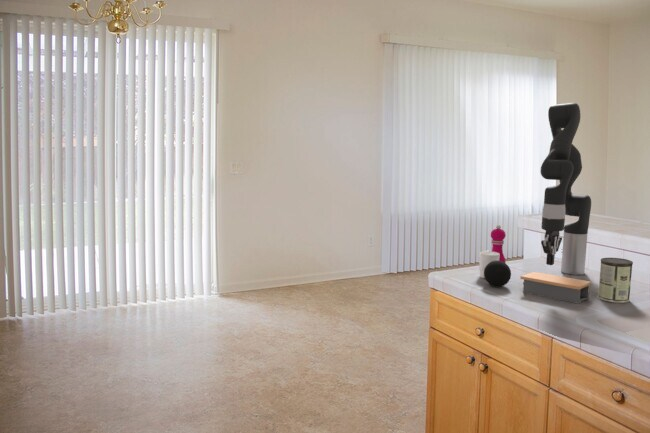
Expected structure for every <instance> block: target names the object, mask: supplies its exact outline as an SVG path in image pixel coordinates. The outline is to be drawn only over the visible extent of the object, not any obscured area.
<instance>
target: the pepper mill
mask: <svg viewBox="0 0 650 433" xmlns="http://www.w3.org/2000/svg"><path fill="white" fill-rule="evenodd" d="M506 236H507V235H506V231H505V230H503V229H502V226H501V225H499V224H497V225H496V228H495V229H492V231H490V237H491V244H492V249H491V251H492V252H497V253H499V254H500V256H499V261H502V262H504V263H506V257H505V255H504V253H503V245H504V244H505V243H504V242H505V241H504V240H505V238H506Z"/></svg>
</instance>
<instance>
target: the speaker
mask: <svg viewBox="0 0 650 433" xmlns="http://www.w3.org/2000/svg"><path fill="white" fill-rule="evenodd" d="M511 272H512V271H511V268H510V266H509V265H508V264H507V263H506V262H505V263H504V262H502V261H492V262H490V263H489V264H487V266H486V267H485V269H484V277H485V278H484V280H485V281H486V282H487V284H488V285H490V286H491V287H495V288H496V287H497V288H500V287H503V286H506V285H507V284H508V283H509V282H510V280H511V276H512V273H511Z"/></svg>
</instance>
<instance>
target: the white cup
mask: <svg viewBox="0 0 650 433" xmlns="http://www.w3.org/2000/svg"><path fill="white" fill-rule="evenodd" d="M499 256H500V254H499V253H497V252H492V250H490V251H489V250H483V251H482V250H481V251H480V252H479V265H478V266H479V277H480V278H481V279H485V277H484V269H485V267H486V266H487V264H489V263H490V262H492V261H499Z"/></svg>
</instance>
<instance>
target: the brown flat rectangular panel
mask: <svg viewBox="0 0 650 433" xmlns="http://www.w3.org/2000/svg"><path fill="white" fill-rule="evenodd" d="M520 280H523V281H524V280H529V281H535V282H540V283H546V284H551V285H556V286H562V287H567V288H572V289H578V290H580V289H582V288H584V287H586V286H589V287H590V286H591V285H592V281H588V280H583V279H577V278H571V277H567V276H566V277H565V276H560V275H556V274H555V275H554V274H548V273H543V272H537V271H532V272H529V273H525V274H524V275H523V274H522V275H520Z"/></svg>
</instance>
